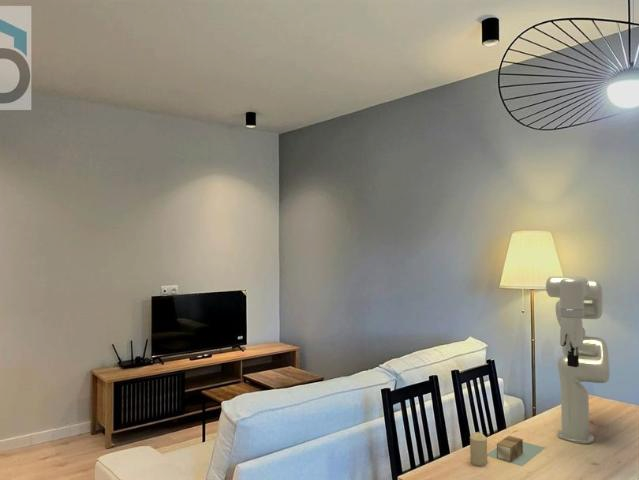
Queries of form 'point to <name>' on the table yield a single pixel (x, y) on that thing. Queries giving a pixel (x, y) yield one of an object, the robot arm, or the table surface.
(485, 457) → the candle
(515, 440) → the block
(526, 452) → the mat
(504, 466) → the table surface
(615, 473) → the table surface
